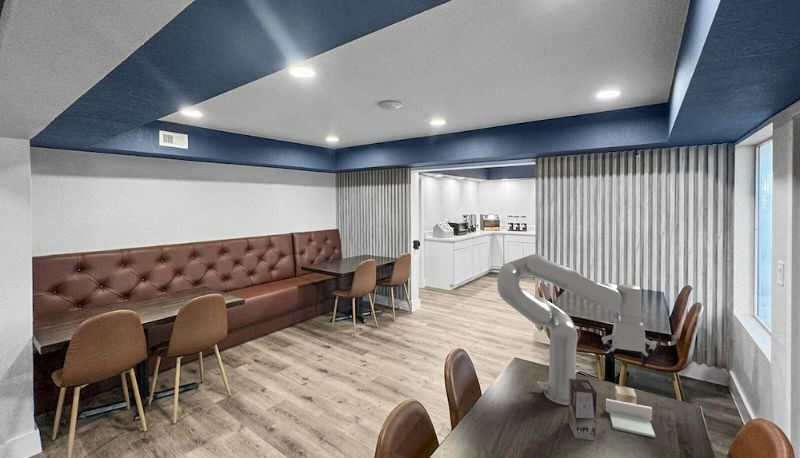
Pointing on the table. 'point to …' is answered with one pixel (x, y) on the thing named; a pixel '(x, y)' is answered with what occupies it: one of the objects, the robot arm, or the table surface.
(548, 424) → the table surface
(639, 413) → the cream screen
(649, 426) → the sage pad
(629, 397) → the maple cube
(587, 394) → the coffee box
